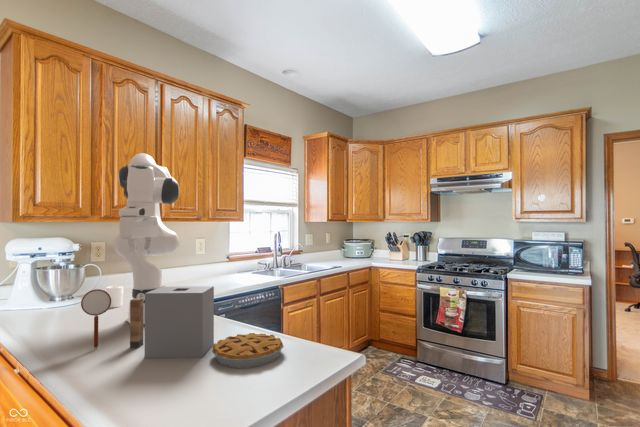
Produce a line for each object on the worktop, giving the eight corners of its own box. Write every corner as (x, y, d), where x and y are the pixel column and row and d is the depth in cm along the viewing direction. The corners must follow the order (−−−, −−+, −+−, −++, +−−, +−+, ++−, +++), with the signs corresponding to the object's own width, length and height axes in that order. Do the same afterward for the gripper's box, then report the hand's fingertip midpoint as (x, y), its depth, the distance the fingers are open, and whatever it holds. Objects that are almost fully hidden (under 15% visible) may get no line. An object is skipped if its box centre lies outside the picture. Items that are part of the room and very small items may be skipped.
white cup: (122, 307, 180) (122, 287, 181) (104, 308, 177) (104, 288, 178) (124, 304, 188) (124, 285, 188) (107, 305, 185) (107, 286, 185)
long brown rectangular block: (134, 344, 123) (134, 298, 124) (143, 344, 123) (143, 298, 124) (129, 347, 120) (130, 300, 121) (138, 347, 120) (139, 300, 121)
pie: (297, 356, 112) (297, 340, 112) (236, 377, 97) (236, 359, 97) (257, 340, 128) (257, 326, 128) (199, 356, 112) (199, 340, 112)
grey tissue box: (161, 345, 123) (161, 286, 124) (213, 344, 123) (213, 286, 124) (144, 358, 111) (144, 293, 112) (202, 357, 111) (202, 292, 112)
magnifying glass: (111, 347, 121) (111, 287, 122) (110, 348, 120) (111, 288, 120) (81, 350, 118) (81, 289, 118) (80, 352, 116) (80, 290, 117)
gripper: (146, 211, 135) (146, 248, 134) (115, 210, 114) (115, 253, 114) (163, 211, 135) (162, 248, 134) (135, 210, 114) (134, 253, 114)
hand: (140, 250), depth 124 cm, fingers open, 8 cm apart
